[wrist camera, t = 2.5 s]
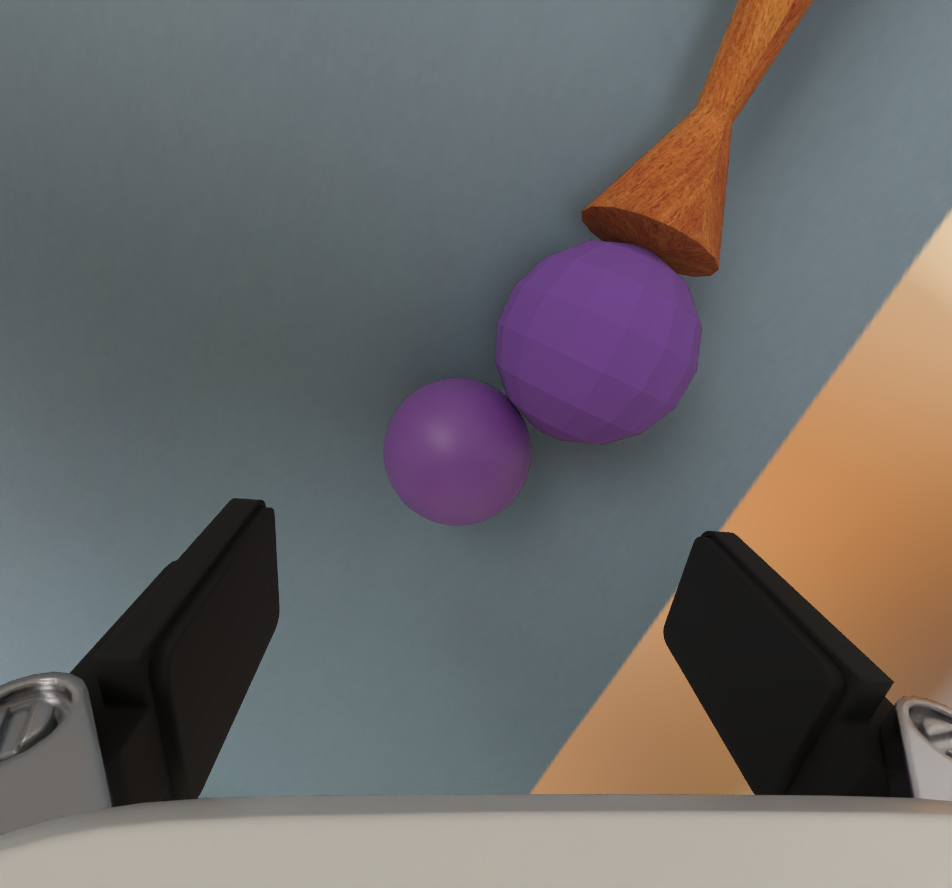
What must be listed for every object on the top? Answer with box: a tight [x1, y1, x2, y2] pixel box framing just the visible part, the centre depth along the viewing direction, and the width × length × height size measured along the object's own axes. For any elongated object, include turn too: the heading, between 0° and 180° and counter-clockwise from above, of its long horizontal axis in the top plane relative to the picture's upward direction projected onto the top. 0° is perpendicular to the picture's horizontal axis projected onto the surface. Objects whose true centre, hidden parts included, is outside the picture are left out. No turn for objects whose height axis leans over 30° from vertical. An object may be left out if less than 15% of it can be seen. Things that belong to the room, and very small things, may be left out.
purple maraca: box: [495, 0, 813, 445], centre depth 12 cm, size 6×6×20 cm
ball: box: [384, 378, 531, 525], centre depth 15 cm, size 5×5×5 cm
